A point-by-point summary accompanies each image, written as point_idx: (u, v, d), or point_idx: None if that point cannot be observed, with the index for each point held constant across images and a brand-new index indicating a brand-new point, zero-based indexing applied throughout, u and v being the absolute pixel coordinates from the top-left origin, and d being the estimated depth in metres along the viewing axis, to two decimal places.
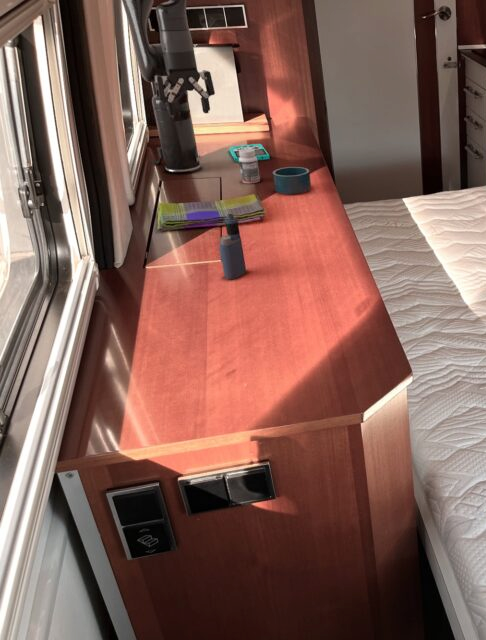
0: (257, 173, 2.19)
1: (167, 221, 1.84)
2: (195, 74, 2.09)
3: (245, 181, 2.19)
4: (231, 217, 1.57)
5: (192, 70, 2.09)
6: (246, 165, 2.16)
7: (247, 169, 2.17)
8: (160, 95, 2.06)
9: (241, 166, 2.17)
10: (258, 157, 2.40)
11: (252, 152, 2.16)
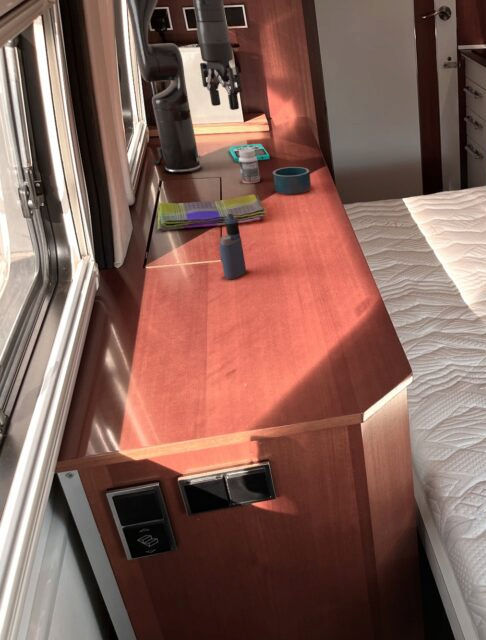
0: (257, 173, 2.19)
1: (167, 221, 1.84)
2: (221, 68, 2.04)
3: (245, 181, 2.19)
4: (231, 217, 1.57)
5: (219, 63, 2.04)
6: (246, 165, 2.16)
7: (247, 169, 2.17)
8: None
9: (241, 166, 2.17)
10: (258, 157, 2.40)
11: (252, 152, 2.16)
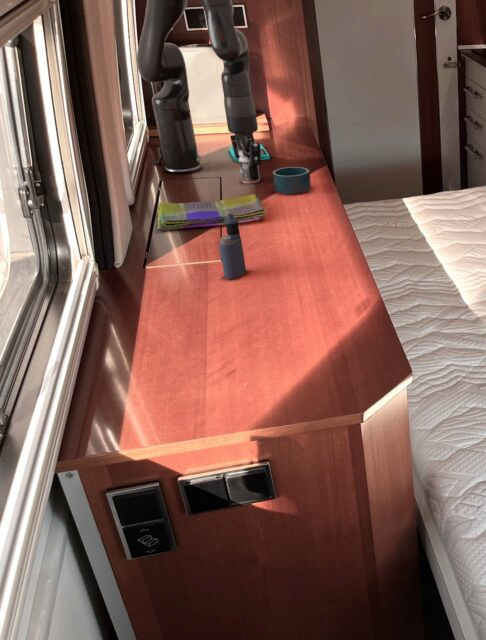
0: None
1: (167, 221, 1.84)
2: (244, 139, 2.13)
3: (245, 181, 2.19)
4: (231, 217, 1.57)
5: (243, 135, 2.12)
6: (246, 165, 2.17)
7: (247, 169, 2.17)
8: None
9: (241, 166, 2.17)
10: None
11: None
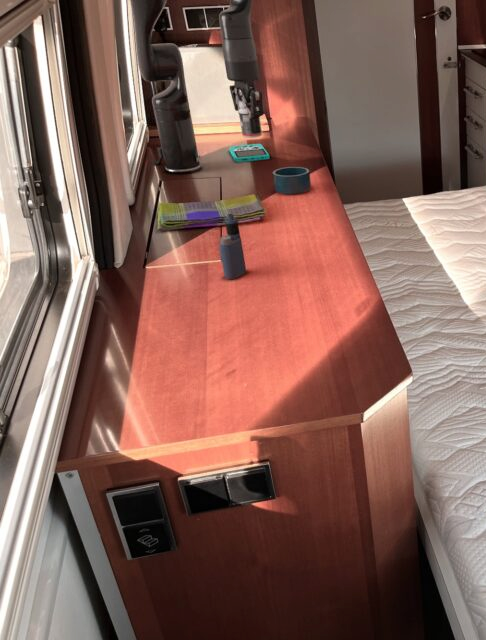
0: None
1: (167, 221, 1.84)
2: (245, 87, 1.94)
3: (246, 135, 2.00)
4: (231, 217, 1.57)
5: (243, 83, 1.94)
6: (246, 117, 1.98)
7: (248, 121, 1.98)
8: None
9: (241, 118, 1.98)
10: (258, 157, 2.40)
11: None
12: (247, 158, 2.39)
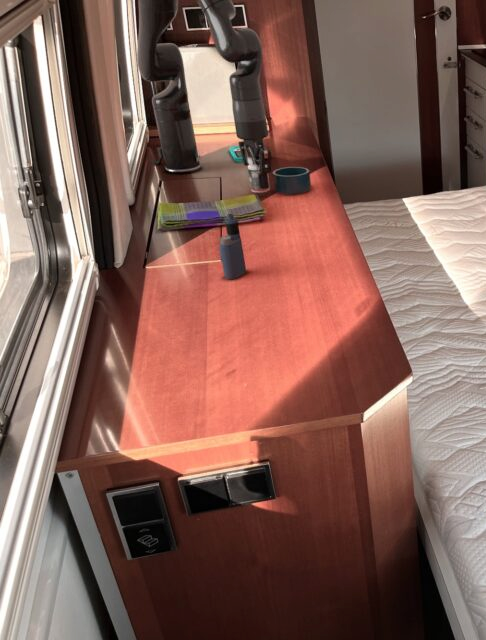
0: None
1: (167, 221, 1.84)
2: (254, 145, 2.00)
3: (254, 190, 2.06)
4: (231, 217, 1.57)
5: (252, 141, 1.99)
6: (255, 173, 2.04)
7: (257, 177, 2.04)
8: None
9: (250, 174, 2.04)
10: None
11: None
12: None
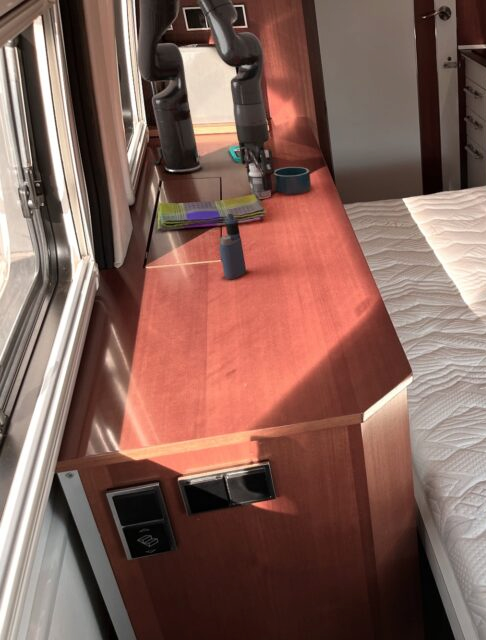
0: None
1: (167, 221, 1.84)
2: (255, 149, 2.00)
3: None
4: (231, 217, 1.57)
5: (253, 145, 2.00)
6: (256, 180, 2.04)
7: (258, 184, 2.05)
8: None
9: (251, 181, 2.05)
10: None
11: None
12: None
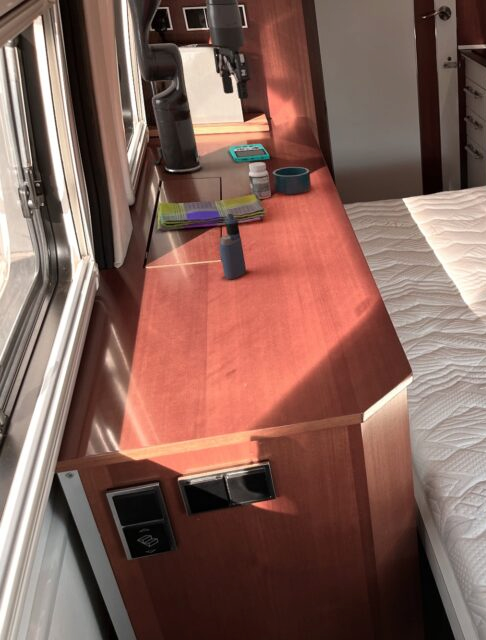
0: (268, 188, 2.07)
1: (167, 221, 1.84)
2: (230, 54, 1.92)
3: None
4: (231, 217, 1.57)
5: (228, 49, 1.92)
6: (256, 180, 2.04)
7: (258, 184, 2.05)
8: None
9: (251, 181, 2.05)
10: (258, 157, 2.40)
11: (263, 166, 2.04)
12: (247, 158, 2.39)
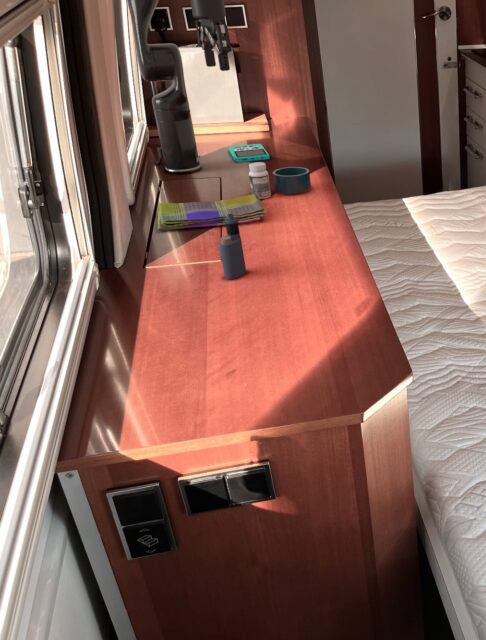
0: (268, 188, 2.07)
1: (167, 221, 1.84)
2: (211, 25, 1.92)
3: None
4: (231, 217, 1.57)
5: (209, 20, 1.92)
6: (256, 180, 2.04)
7: (258, 184, 2.05)
8: None
9: (251, 181, 2.05)
10: (258, 157, 2.40)
11: (263, 166, 2.04)
12: (247, 158, 2.39)
